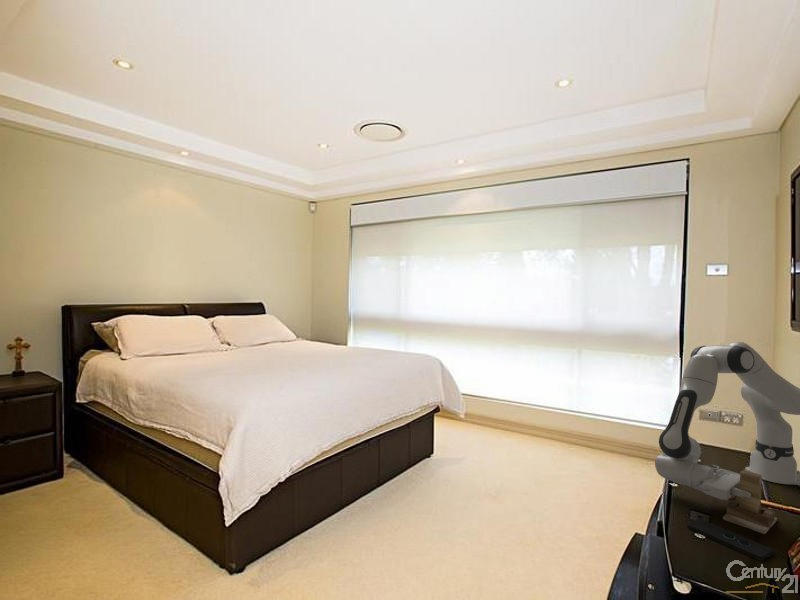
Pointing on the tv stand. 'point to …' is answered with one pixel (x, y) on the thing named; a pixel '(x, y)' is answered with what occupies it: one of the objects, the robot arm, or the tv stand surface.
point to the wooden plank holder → (750, 517)
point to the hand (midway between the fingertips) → (753, 493)
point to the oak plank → (753, 485)
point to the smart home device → (730, 539)
